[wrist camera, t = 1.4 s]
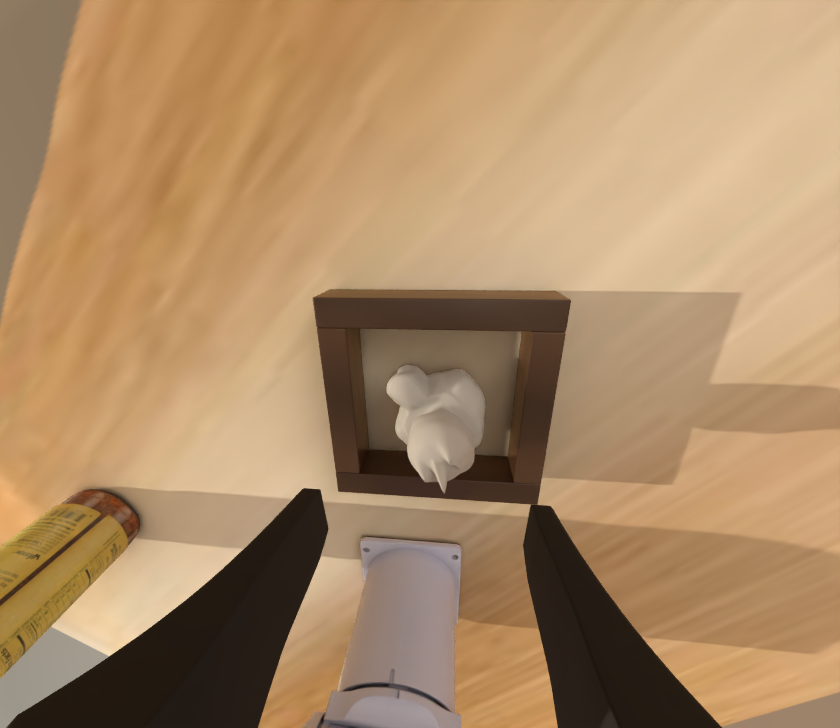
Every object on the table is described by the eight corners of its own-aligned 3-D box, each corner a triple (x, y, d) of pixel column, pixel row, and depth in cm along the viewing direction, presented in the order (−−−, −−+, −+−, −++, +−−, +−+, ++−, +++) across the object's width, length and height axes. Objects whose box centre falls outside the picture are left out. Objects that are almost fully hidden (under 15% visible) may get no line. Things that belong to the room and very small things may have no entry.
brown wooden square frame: (529, 477, 23) (537, 505, 20) (349, 466, 24) (337, 491, 21) (556, 291, 18) (571, 300, 15) (329, 289, 19) (312, 297, 17)
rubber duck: (442, 447, 22) (435, 554, 15) (371, 381, 21) (326, 464, 14) (505, 400, 20) (533, 496, 13) (433, 326, 19) (419, 385, 12)
